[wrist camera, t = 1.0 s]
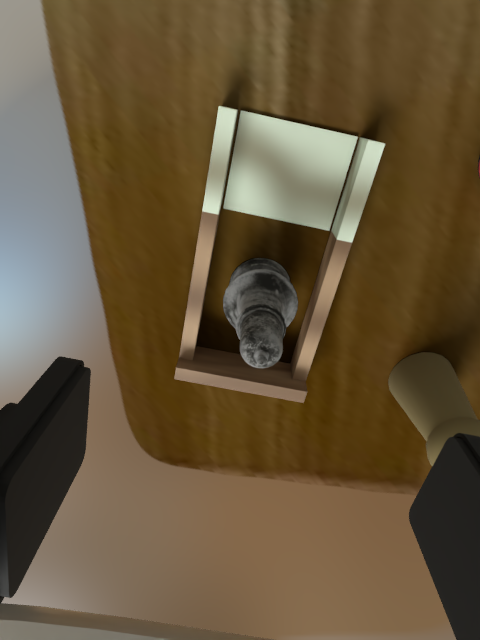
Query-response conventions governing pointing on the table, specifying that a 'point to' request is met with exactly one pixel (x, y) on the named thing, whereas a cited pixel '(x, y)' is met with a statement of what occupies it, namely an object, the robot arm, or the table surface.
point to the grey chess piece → (260, 309)
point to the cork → (433, 399)
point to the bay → (286, 205)
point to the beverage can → (479, 167)
